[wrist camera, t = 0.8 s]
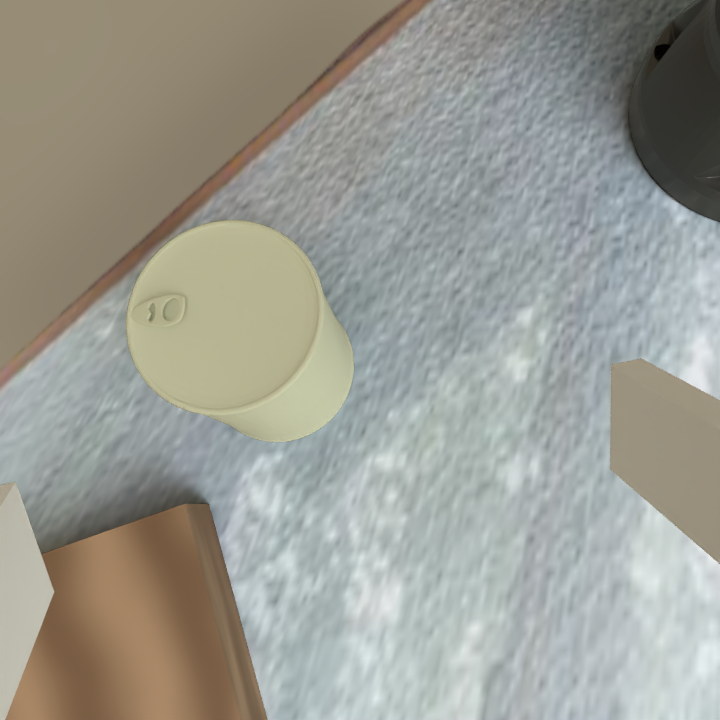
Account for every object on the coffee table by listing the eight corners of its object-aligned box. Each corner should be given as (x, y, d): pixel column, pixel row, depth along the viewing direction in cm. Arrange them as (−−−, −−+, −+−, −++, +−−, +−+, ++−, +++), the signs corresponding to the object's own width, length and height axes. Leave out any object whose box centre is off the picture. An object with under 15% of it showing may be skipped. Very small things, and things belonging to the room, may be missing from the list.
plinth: (208, 504, 39) (184, 503, 35) (281, 773, 35) (263, 806, 31) (-26, 586, 39) (-75, 594, 35) (23, 861, 36) (-27, 904, 32)
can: (212, 297, 42) (128, 216, 30) (355, 294, 41) (326, 209, 29) (202, 441, 40) (108, 414, 28) (352, 442, 39) (320, 414, 27)
